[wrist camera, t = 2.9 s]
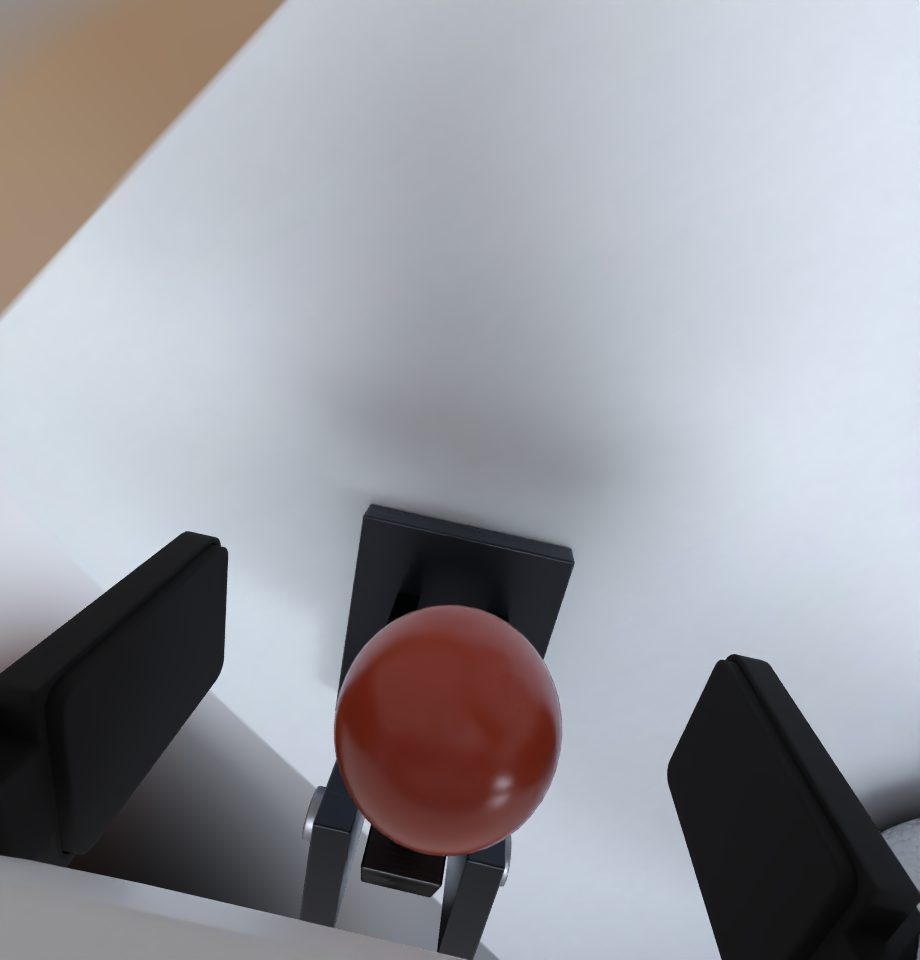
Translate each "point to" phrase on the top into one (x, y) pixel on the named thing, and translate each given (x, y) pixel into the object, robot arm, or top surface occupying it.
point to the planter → (906, 847)
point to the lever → (444, 740)
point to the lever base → (374, 604)
